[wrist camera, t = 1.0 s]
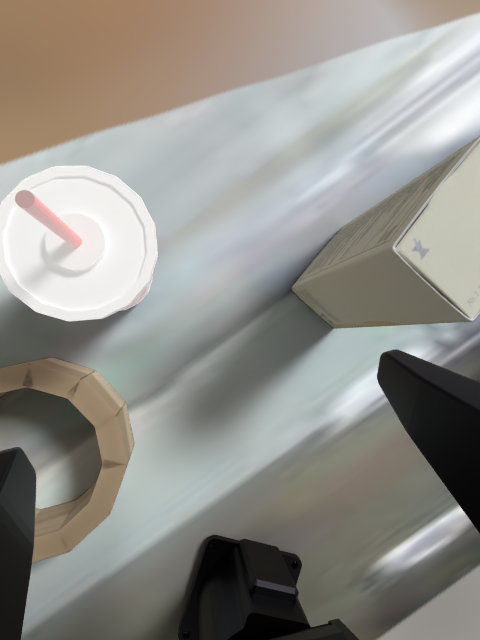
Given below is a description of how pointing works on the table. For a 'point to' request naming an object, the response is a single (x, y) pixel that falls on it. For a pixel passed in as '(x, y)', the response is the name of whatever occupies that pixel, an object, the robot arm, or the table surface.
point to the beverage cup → (76, 243)
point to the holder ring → (113, 439)
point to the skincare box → (406, 254)
